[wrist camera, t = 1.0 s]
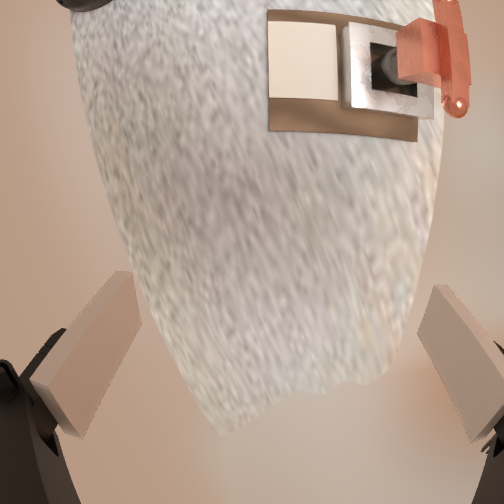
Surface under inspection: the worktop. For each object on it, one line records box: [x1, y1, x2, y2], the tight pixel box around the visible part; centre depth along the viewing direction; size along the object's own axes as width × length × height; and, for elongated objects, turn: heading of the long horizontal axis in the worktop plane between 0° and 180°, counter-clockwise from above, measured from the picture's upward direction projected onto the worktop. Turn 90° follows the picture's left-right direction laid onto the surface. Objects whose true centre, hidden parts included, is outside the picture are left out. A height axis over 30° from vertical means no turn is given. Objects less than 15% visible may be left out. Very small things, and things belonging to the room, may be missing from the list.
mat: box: [268, 21, 338, 101], centre depth 29 cm, size 10×8×1 cm
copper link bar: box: [371, 0, 471, 118], centre depth 21 cm, size 11×5×18 cm, turn 1°
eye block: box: [339, 22, 434, 120], centre depth 27 cm, size 10×10×5 cm
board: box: [267, 10, 418, 142], centre depth 30 cm, size 16×19×1 cm
